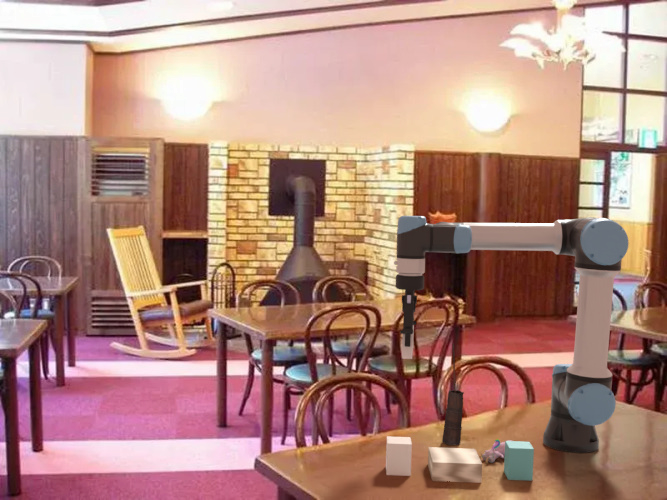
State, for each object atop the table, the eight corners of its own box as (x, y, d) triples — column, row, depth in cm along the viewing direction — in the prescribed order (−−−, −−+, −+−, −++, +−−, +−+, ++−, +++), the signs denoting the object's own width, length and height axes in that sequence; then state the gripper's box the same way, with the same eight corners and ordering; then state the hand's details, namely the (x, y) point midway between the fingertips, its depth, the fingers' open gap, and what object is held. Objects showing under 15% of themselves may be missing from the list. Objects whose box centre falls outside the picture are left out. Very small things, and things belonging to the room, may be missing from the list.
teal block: (527, 472, 212) (529, 441, 211) (532, 480, 206) (533, 449, 205) (503, 471, 212) (505, 440, 211) (508, 479, 206) (509, 448, 205)
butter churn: (477, 447, 231) (482, 347, 229) (447, 450, 228) (451, 348, 226) (461, 437, 240) (465, 341, 238) (432, 440, 237) (435, 342, 235)
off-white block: (409, 467, 213) (410, 437, 212) (410, 475, 207) (411, 444, 206) (385, 467, 213) (386, 436, 212) (386, 475, 207) (387, 443, 206)
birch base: (474, 467, 215) (475, 448, 215) (481, 484, 203) (482, 464, 203) (427, 466, 215) (428, 447, 215) (432, 482, 203) (432, 462, 203)
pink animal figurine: (492, 471, 216) (528, 452, 225) (491, 449, 215) (527, 431, 224) (474, 464, 221) (509, 446, 230) (472, 443, 220) (508, 425, 229)
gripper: (397, 269, 233) (395, 344, 234) (394, 278, 208) (391, 362, 210) (424, 270, 232) (422, 345, 234) (424, 279, 207) (421, 363, 209)
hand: (407, 353), depth 222 cm, fingers open, 13 cm apart
